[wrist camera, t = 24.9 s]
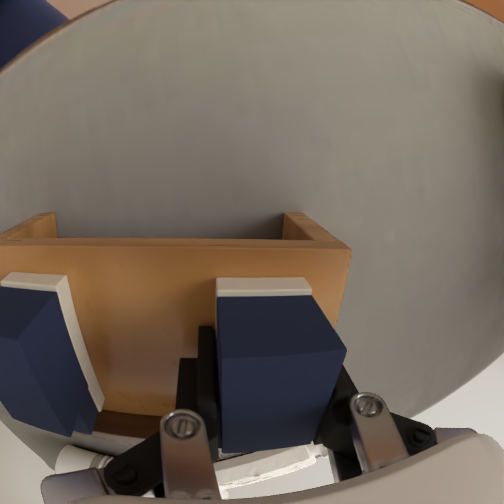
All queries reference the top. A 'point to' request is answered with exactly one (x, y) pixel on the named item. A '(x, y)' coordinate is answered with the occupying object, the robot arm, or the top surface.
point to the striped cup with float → (79, 460)
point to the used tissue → (264, 465)
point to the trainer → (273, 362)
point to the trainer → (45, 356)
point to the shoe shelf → (162, 301)
